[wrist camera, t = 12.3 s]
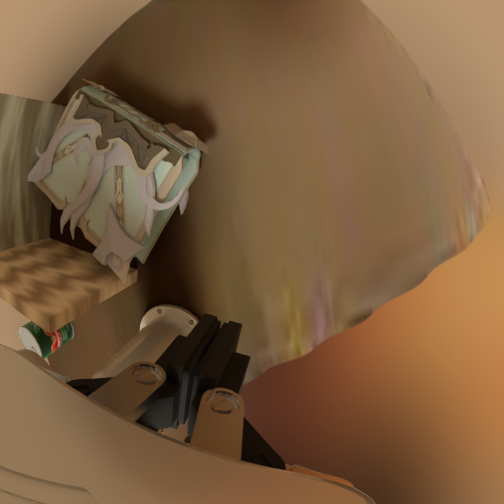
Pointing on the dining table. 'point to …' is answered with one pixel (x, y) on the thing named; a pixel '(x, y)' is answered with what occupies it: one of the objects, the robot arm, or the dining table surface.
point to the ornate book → (116, 174)
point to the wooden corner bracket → (41, 228)
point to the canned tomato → (44, 338)
